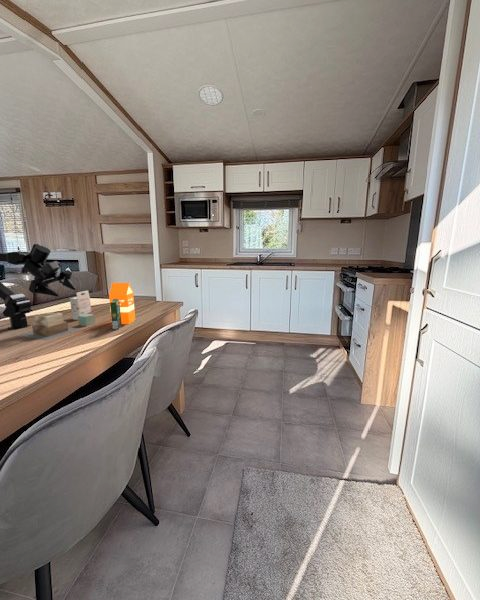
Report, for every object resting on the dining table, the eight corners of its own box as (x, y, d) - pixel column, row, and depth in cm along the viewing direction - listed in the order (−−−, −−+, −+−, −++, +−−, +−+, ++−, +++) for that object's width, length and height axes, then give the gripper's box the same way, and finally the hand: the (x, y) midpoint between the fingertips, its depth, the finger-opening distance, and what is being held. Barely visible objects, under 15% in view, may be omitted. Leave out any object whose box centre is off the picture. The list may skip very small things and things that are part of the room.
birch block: (36, 325, 114) (34, 316, 114) (51, 321, 121) (50, 312, 120) (48, 326, 112) (46, 317, 112) (63, 322, 119) (62, 313, 118)
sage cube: (78, 326, 129) (77, 316, 128) (87, 323, 133) (86, 313, 132) (87, 327, 127) (85, 316, 126) (95, 324, 132) (94, 314, 131)
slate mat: (19, 337, 112) (18, 336, 112) (55, 326, 127) (55, 325, 127) (47, 341, 108) (46, 340, 107) (81, 329, 123) (81, 328, 122)
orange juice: (129, 324, 132) (125, 283, 128) (111, 324, 132) (107, 283, 128) (135, 320, 139) (132, 281, 136) (118, 319, 140) (115, 281, 136)
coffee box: (118, 329, 123) (116, 301, 120) (112, 330, 122) (109, 302, 119) (122, 325, 130) (119, 298, 128) (115, 325, 130) (113, 298, 127)
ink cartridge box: (84, 316, 147) (81, 289, 144) (92, 316, 146) (89, 290, 143) (71, 320, 139) (68, 292, 136) (80, 320, 138) (76, 292, 135)
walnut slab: (33, 334, 114) (32, 325, 114) (53, 328, 123) (52, 320, 122) (49, 336, 112) (47, 327, 111) (68, 330, 120) (67, 321, 119)
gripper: (22, 261, 108) (53, 284, 108) (61, 253, 125) (88, 273, 125) (16, 282, 112) (46, 304, 112) (55, 271, 129) (81, 291, 129)
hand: (66, 292), depth 120 cm, fingers open, 9 cm apart
